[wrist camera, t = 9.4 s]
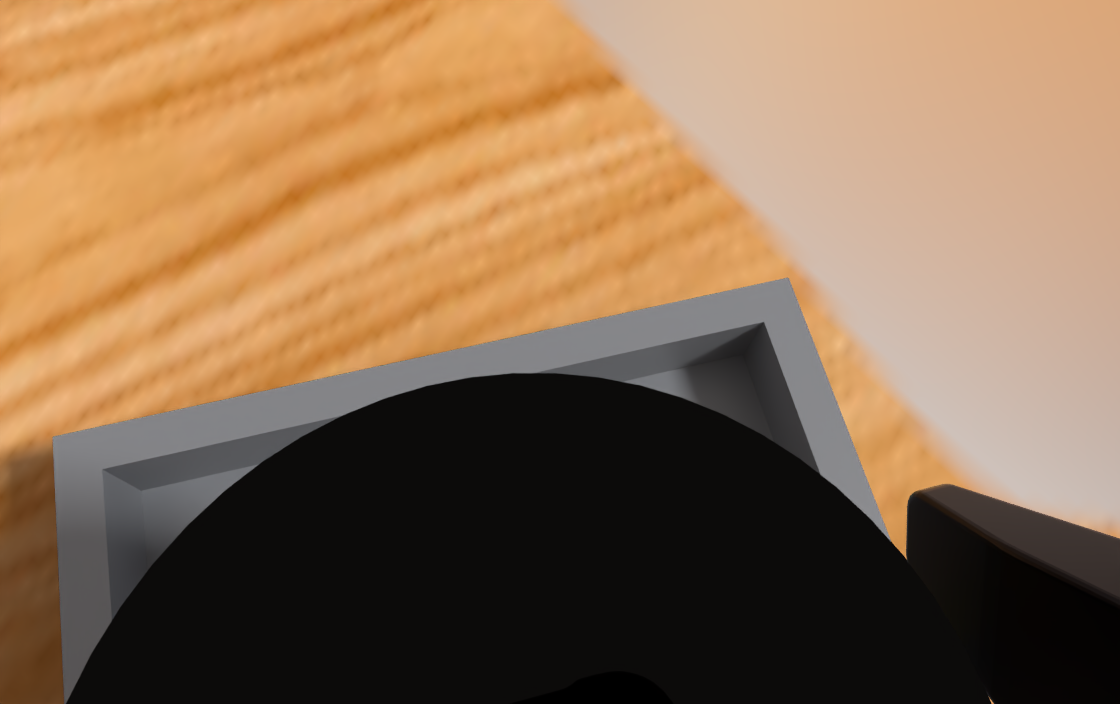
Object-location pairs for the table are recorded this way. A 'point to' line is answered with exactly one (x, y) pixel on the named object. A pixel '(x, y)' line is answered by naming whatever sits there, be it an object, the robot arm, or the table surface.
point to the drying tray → (293, 411)
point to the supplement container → (531, 567)
